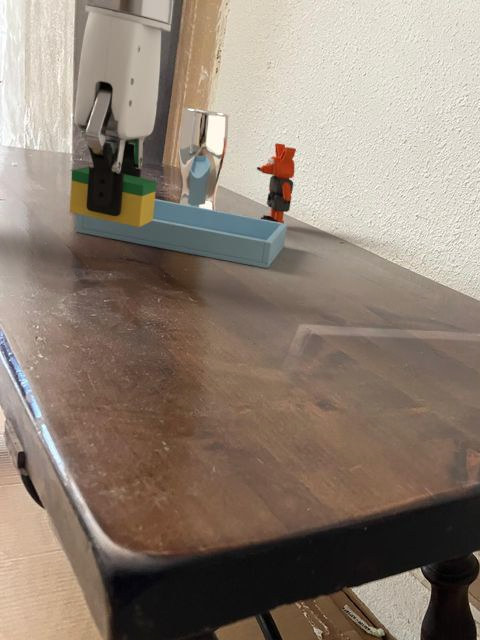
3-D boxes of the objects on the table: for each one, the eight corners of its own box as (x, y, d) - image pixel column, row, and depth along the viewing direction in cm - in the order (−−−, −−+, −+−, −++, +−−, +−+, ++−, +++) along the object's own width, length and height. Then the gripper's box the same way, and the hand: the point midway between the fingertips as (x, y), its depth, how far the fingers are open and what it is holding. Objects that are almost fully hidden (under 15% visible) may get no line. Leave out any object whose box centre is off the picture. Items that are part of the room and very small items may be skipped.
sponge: (69, 212, 73) (71, 169, 71) (86, 206, 77) (89, 166, 75) (139, 227, 73) (143, 185, 71) (152, 220, 77) (157, 181, 75)
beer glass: (185, 221, 108) (196, 111, 102) (164, 211, 113) (173, 105, 107) (227, 224, 112) (239, 117, 106) (205, 213, 117) (216, 111, 111)
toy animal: (243, 217, 120) (253, 138, 115) (274, 220, 122) (285, 144, 117) (258, 228, 113) (269, 145, 109) (291, 231, 116) (303, 150, 111)
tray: (75, 232, 90) (76, 205, 89) (118, 215, 104) (120, 192, 103) (267, 268, 90) (271, 242, 88) (284, 246, 104) (287, 224, 103)
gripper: (120, 7, 75) (105, 192, 82) (50, -19, 59) (39, 212, 67) (193, 23, 75) (171, 207, 82) (142, 1, 59) (121, 230, 67)
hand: (112, 207), depth 74 cm, fingers closed on sponge, 4 cm apart
